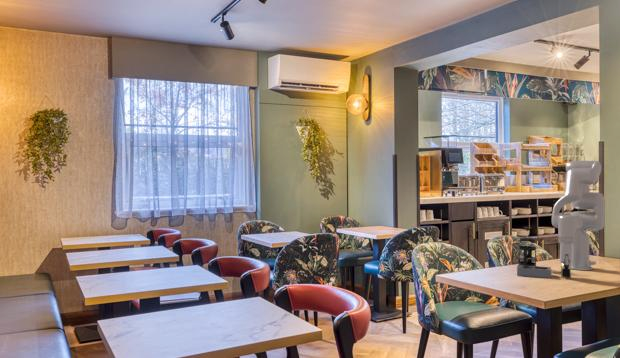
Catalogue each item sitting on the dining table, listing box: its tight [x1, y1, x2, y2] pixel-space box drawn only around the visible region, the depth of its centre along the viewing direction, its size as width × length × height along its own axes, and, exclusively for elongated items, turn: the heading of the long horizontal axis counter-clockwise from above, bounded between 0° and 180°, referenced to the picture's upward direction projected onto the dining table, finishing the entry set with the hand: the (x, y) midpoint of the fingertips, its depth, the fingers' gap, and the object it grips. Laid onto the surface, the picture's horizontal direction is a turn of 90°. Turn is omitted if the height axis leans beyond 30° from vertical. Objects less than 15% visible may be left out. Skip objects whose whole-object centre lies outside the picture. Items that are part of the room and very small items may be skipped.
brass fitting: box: [560, 262, 572, 279], centre depth 262 cm, size 4×4×8 cm
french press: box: [518, 226, 537, 266], centre depth 287 cm, size 12×9×23 cm
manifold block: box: [516, 264, 552, 279], centre depth 268 cm, size 16×10×4 cm, turn 67°
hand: (565, 275), depth 262 cm, fingers closed on brass fitting, 4 cm apart
